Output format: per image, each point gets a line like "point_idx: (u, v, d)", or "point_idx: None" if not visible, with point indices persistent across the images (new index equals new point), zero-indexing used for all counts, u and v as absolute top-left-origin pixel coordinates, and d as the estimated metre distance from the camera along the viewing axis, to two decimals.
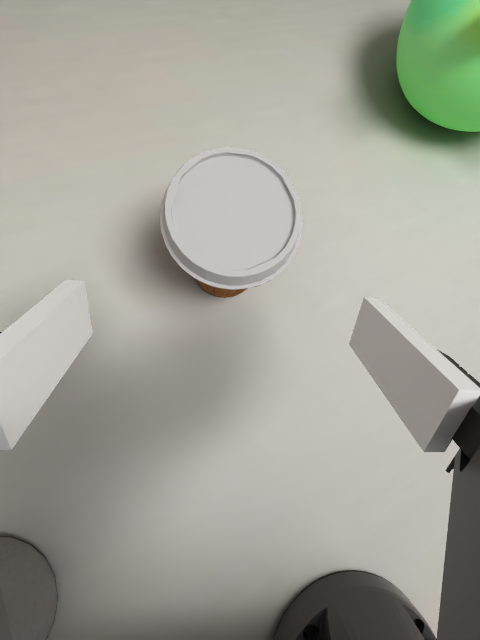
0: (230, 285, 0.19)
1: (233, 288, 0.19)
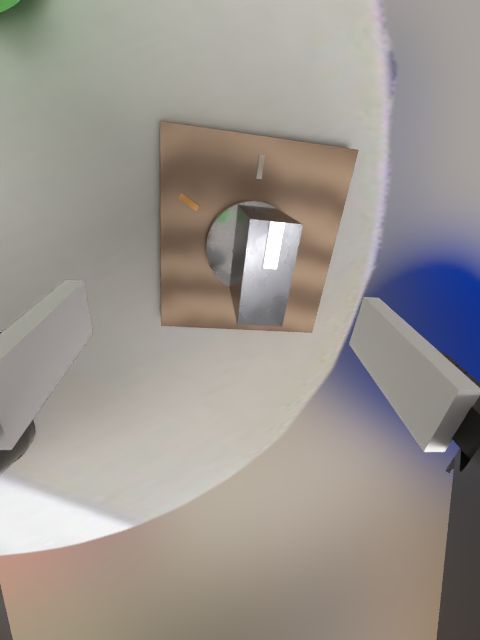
0: None
1: None
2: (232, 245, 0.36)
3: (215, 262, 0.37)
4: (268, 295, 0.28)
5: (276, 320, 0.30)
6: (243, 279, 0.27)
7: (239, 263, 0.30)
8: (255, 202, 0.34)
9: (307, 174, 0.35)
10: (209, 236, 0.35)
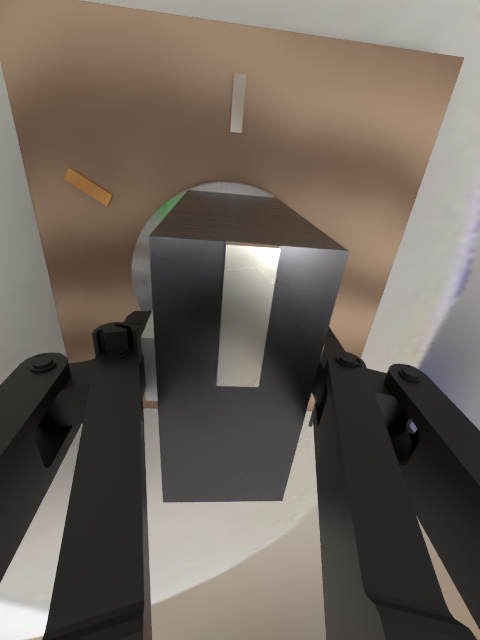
0: None
1: None
2: None
3: None
4: (241, 444, 0.10)
5: (266, 490, 0.11)
6: (161, 411, 0.09)
7: None
8: (227, 184, 0.15)
9: (343, 121, 0.16)
10: (135, 258, 0.17)
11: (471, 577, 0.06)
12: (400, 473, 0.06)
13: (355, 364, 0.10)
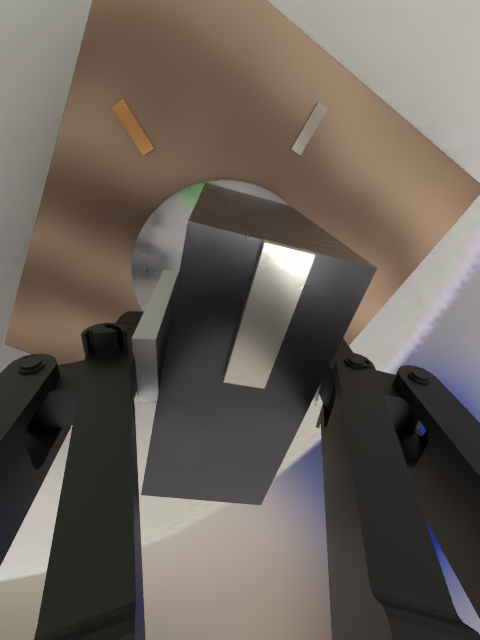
0: None
1: None
2: None
3: (150, 295, 0.18)
4: (233, 444, 0.10)
5: (247, 493, 0.11)
6: (159, 401, 0.09)
7: None
8: (245, 184, 0.15)
9: (383, 189, 0.17)
10: (138, 242, 0.16)
11: (479, 580, 0.06)
12: (409, 476, 0.06)
13: (364, 366, 0.10)
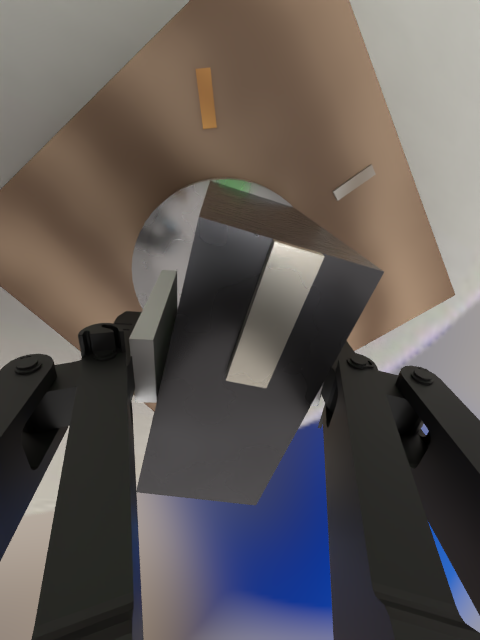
0: None
1: None
2: (188, 265, 0.17)
3: (149, 291, 0.18)
4: (232, 443, 0.10)
5: (243, 493, 0.11)
6: (160, 398, 0.09)
7: None
8: (249, 184, 0.15)
9: (385, 260, 0.20)
10: (140, 238, 0.16)
11: None
12: (411, 476, 0.06)
13: (367, 367, 0.10)
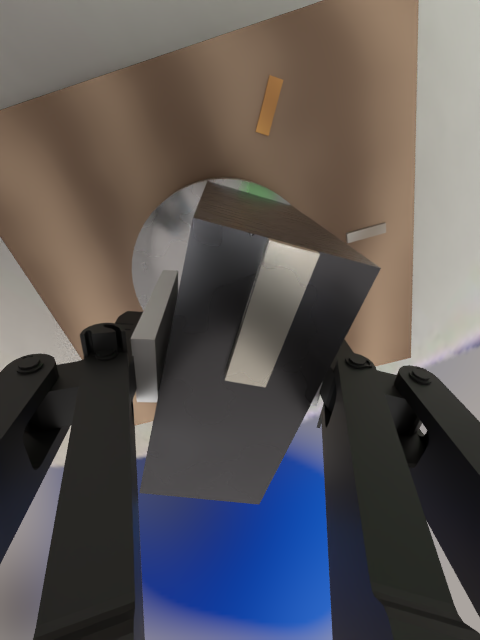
0: None
1: None
2: None
3: (150, 292, 0.18)
4: (233, 443, 0.10)
5: (246, 492, 0.11)
6: (160, 399, 0.09)
7: None
8: (247, 183, 0.15)
9: (367, 309, 0.21)
10: (139, 240, 0.16)
11: None
12: (410, 476, 0.06)
13: (365, 366, 0.10)
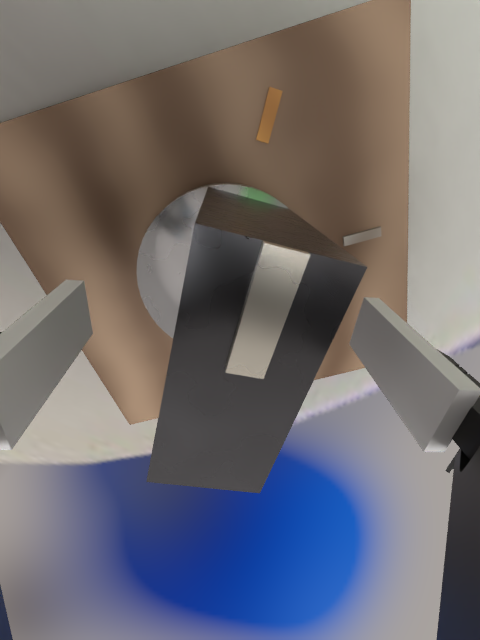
0: None
1: None
2: None
3: (154, 294, 0.19)
4: (234, 433, 0.11)
5: (247, 481, 0.12)
6: (165, 391, 0.10)
7: None
8: (246, 188, 0.16)
9: None
10: (143, 243, 0.17)
11: None
12: None
13: None
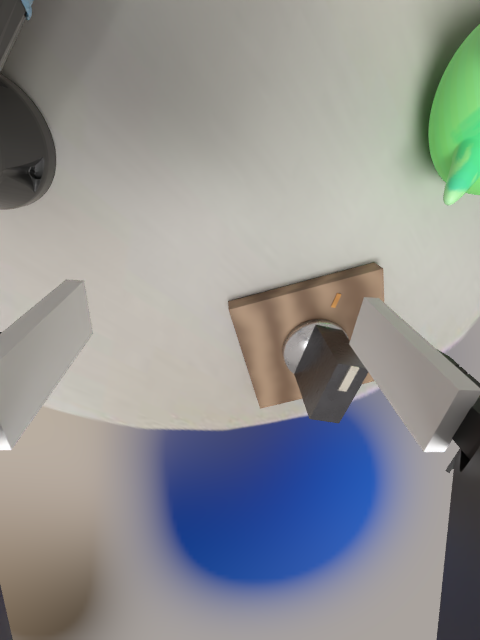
0: None
1: None
2: (304, 348, 0.49)
3: (289, 357, 0.50)
4: (336, 405, 0.42)
5: (336, 419, 0.43)
6: (322, 394, 0.40)
7: (316, 376, 0.43)
8: (328, 324, 0.47)
9: None
10: (289, 341, 0.48)
11: None
12: None
13: None
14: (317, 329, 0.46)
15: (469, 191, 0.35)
